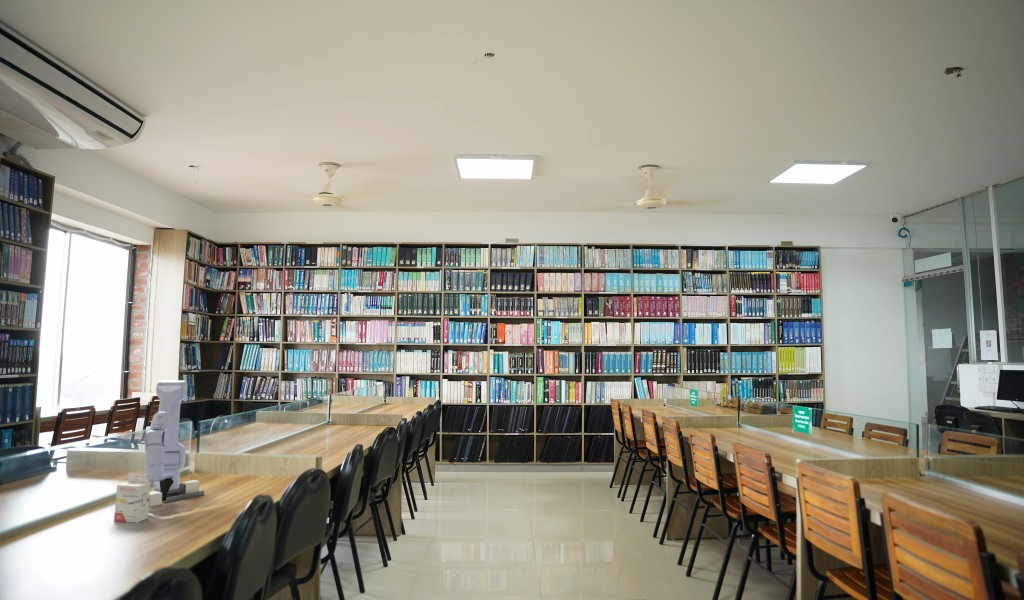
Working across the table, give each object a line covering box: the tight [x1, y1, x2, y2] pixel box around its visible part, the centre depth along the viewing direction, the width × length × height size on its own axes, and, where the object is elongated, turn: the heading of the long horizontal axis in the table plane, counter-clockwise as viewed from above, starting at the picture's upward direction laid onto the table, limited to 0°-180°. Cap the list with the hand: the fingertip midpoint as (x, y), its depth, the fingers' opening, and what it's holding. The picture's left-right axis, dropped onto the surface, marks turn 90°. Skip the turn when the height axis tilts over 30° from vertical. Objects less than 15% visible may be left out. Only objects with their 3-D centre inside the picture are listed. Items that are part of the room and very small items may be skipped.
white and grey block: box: [178, 479, 201, 495], centre depth 219 cm, size 4×6×5 cm
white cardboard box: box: [149, 490, 163, 507], centre depth 206 cm, size 4×6×5 cm
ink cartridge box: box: [113, 472, 151, 524], centre depth 190 cm, size 9×5×15 cm, turn 84°
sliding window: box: [162, 490, 205, 504], centre depth 216 cm, size 9×14×2 cm, turn 149°
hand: (151, 502), depth 206 cm, fingers open, 6 cm apart
